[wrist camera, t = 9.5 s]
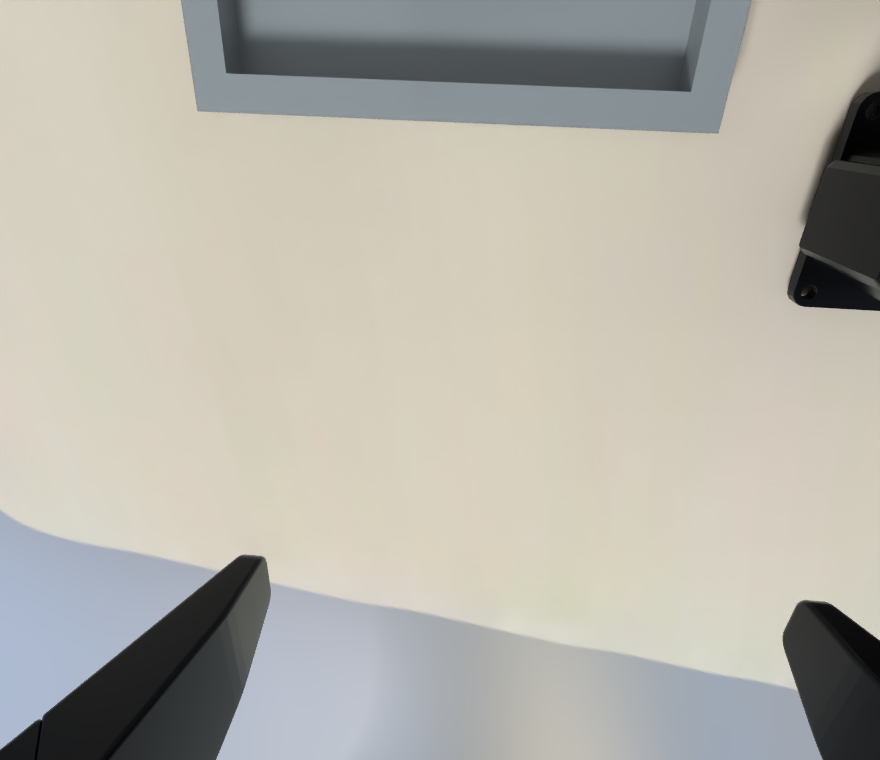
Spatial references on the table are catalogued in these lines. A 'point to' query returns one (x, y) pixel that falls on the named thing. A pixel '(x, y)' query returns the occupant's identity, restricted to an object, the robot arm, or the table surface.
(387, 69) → the serving tray
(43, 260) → the table surface
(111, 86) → the table surface
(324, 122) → the table surface
